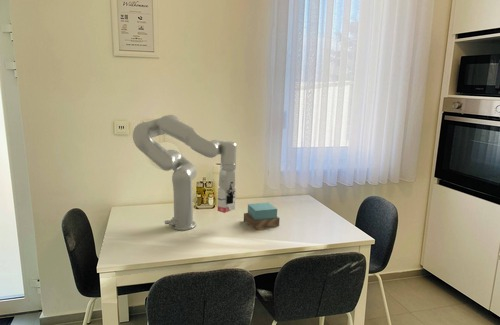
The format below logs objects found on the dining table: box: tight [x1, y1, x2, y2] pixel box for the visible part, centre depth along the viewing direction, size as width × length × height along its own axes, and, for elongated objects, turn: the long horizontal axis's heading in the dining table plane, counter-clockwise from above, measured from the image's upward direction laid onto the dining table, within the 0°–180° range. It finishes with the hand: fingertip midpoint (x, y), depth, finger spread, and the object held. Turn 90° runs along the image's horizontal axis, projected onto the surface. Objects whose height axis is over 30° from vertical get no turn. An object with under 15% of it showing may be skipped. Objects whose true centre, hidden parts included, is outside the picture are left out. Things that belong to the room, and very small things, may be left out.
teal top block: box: [247, 202, 278, 220], centre depth 198 cm, size 12×12×5 cm
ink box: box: [217, 187, 237, 214], centre depth 187 cm, size 9×5×12 cm, turn 142°
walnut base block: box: [243, 212, 281, 231], centre depth 198 cm, size 14×14×5 cm
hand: (226, 201), depth 187 cm, fingers closed on ink box, 6 cm apart
